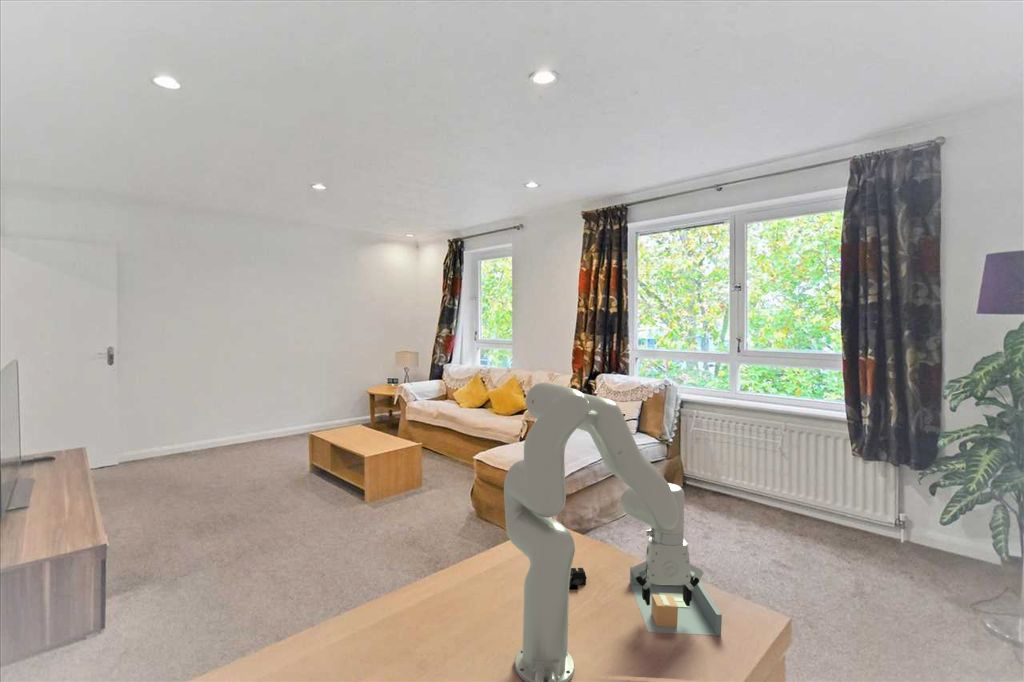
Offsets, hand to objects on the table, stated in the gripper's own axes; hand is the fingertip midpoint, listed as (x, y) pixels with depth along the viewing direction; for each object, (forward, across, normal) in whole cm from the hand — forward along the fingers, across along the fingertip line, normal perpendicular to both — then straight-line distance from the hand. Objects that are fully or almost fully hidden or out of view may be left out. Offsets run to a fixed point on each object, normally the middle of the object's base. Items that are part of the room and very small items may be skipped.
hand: (666, 602), depth 120 cm
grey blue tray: (+5, +3, +6) cm, 8 cm away
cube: (+4, -1, 0) cm, 4 cm away
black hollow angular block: (+5, -21, +16) cm, 26 cm away
